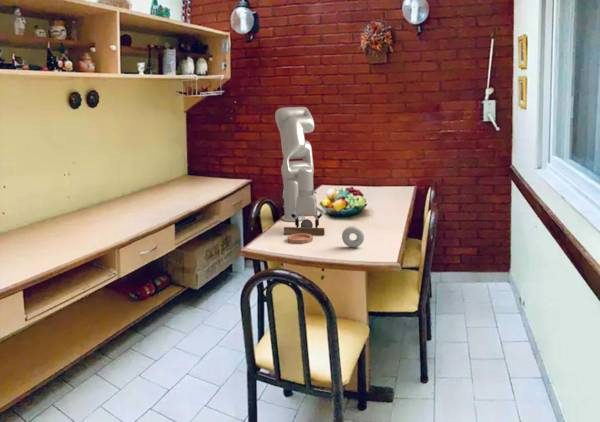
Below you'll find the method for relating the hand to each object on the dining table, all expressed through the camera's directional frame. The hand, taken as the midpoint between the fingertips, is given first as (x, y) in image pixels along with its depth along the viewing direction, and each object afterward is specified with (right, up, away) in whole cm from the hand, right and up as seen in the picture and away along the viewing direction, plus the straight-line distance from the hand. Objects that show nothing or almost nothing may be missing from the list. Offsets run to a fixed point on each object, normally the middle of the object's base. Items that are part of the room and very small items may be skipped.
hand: (307, 227), depth 279 cm
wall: (-1, -4, -6) cm, 7 cm away
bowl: (-3, -6, -15) cm, 17 cm away
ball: (0, +1, 0) cm, 1 cm away
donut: (+20, -9, -29) cm, 36 cm away
